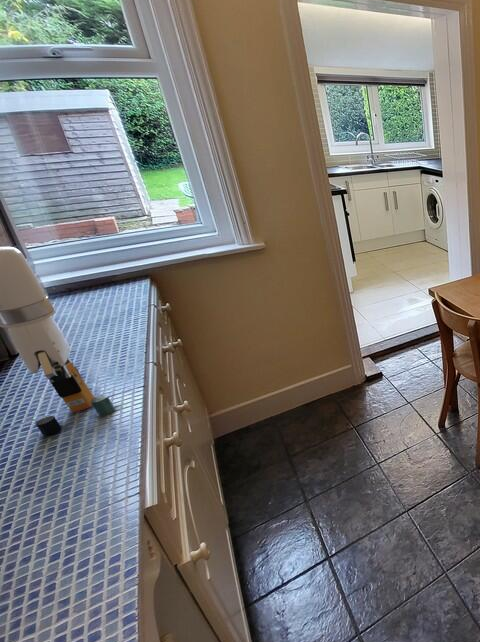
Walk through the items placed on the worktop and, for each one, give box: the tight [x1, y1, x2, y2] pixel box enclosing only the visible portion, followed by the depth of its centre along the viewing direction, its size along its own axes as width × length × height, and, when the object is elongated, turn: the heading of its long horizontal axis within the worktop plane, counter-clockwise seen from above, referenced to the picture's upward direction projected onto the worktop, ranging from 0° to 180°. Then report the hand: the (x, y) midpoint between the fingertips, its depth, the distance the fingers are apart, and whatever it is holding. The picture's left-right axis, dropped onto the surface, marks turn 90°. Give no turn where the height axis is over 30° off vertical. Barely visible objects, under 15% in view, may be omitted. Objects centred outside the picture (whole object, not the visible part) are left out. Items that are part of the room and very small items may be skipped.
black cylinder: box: [35, 415, 63, 438], centre depth 81 cm, size 3×3×3 cm
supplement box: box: [55, 363, 96, 413], centre depth 86 cm, size 3×3×10 cm
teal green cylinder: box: [91, 394, 116, 417], centre depth 85 cm, size 3×3×4 cm
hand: (72, 388), depth 86 cm, fingers closed on supplement box, 3 cm apart
